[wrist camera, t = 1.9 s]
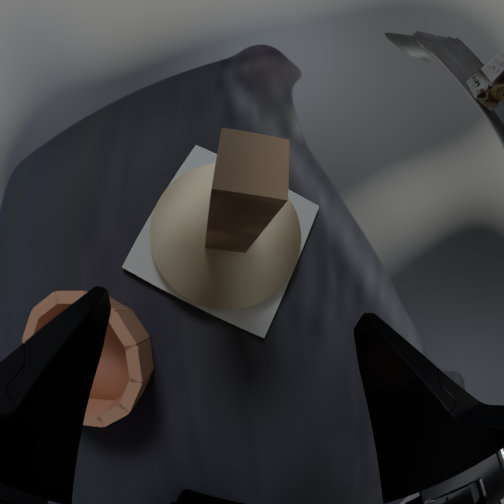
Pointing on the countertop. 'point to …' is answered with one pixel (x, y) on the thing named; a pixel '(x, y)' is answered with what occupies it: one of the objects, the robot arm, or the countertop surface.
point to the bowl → (107, 358)
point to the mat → (245, 318)
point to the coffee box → (489, 83)
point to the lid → (229, 225)
